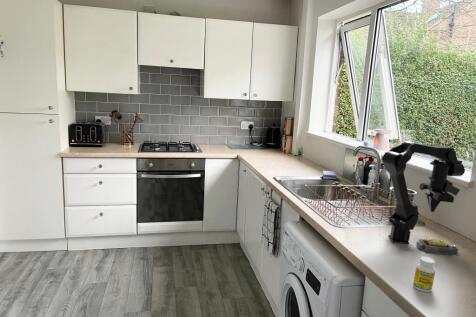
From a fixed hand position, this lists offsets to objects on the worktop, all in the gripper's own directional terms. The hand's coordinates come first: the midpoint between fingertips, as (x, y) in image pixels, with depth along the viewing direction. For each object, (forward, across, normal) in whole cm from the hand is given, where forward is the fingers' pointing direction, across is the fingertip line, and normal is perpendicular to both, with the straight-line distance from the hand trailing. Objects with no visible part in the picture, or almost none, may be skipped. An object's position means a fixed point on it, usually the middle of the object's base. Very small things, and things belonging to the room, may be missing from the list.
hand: (431, 211), depth 153 cm
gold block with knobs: (+12, -12, +2) cm, 17 cm away
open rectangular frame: (+12, -12, +2) cm, 17 cm away
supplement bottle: (+12, -44, +20) cm, 50 cm away
